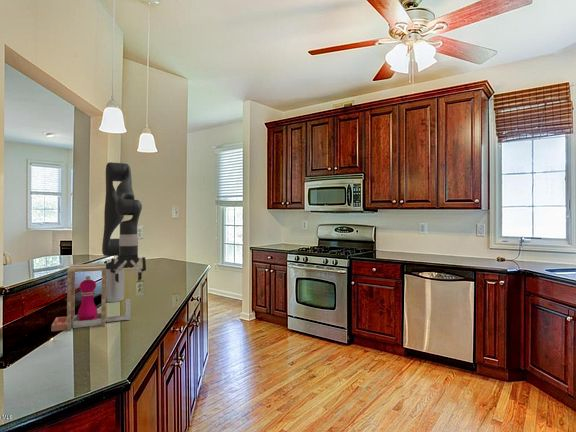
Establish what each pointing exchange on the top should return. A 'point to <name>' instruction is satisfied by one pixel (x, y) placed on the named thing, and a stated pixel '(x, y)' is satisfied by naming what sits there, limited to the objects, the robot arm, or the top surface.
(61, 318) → the pit tray
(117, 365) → the top surface
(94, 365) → the top surface
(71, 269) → the shelf tunnel
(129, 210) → the robot arm
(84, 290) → the pepper mill
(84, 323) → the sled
